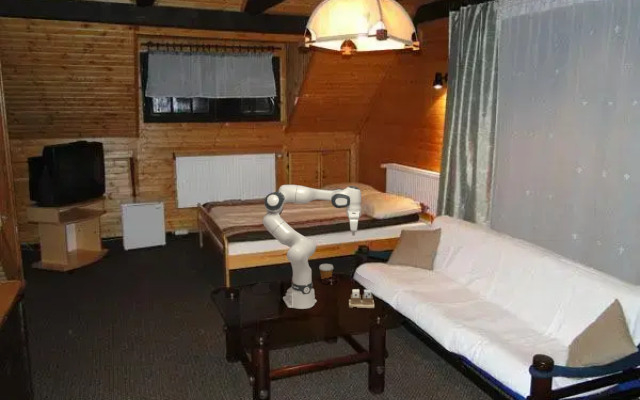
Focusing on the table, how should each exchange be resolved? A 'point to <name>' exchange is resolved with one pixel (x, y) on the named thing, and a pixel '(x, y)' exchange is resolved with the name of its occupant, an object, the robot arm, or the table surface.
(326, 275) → the disposable coffee cup
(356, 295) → the key one
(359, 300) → the key console
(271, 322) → the table surface
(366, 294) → the key two
